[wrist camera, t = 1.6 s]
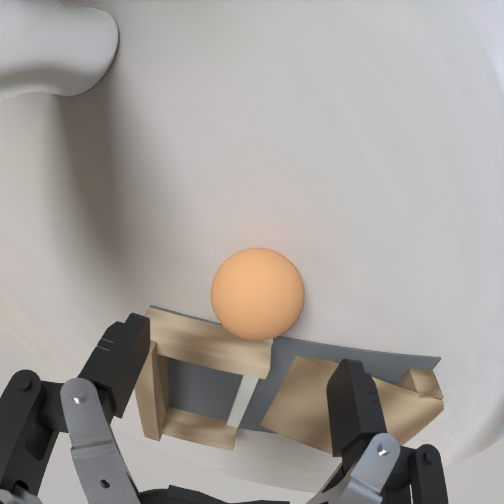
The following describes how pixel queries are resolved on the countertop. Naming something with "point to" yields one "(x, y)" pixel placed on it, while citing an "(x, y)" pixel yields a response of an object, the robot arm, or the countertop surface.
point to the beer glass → (53, 47)
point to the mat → (269, 379)
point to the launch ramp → (316, 407)
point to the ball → (257, 294)
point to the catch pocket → (197, 352)
